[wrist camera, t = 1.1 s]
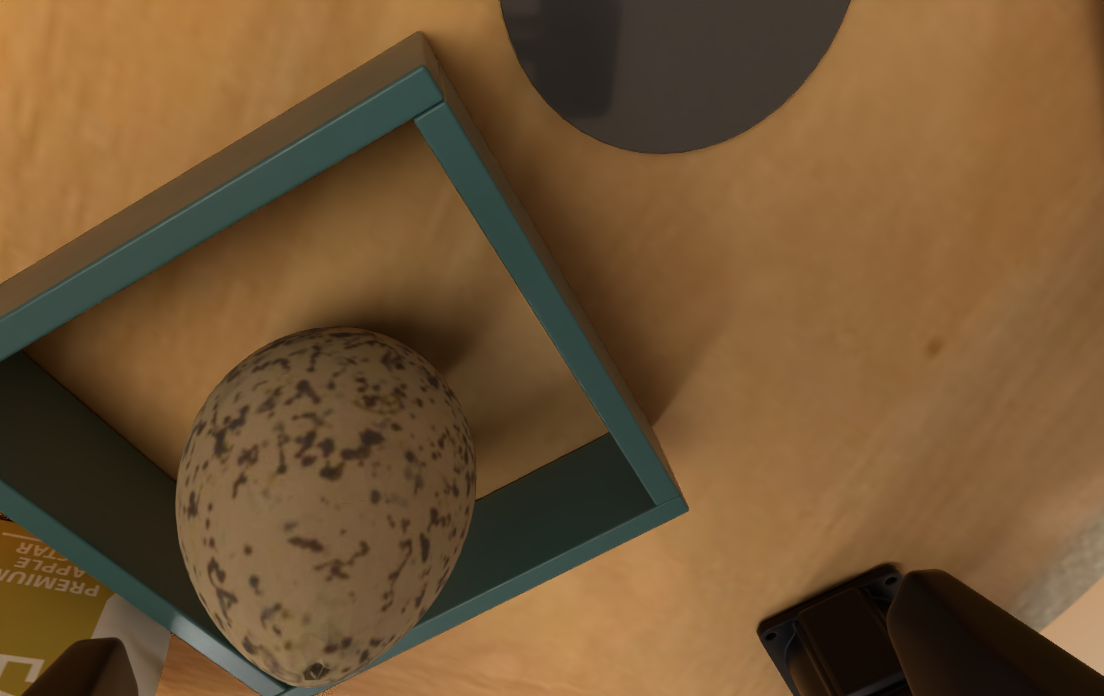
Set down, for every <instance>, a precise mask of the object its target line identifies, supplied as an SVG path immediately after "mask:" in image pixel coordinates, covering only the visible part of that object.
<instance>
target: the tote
mask: <svg viewBox="0 0 1104 696" xmlns="http://www.w3.org/2000/svg"><path fill="white" fill-rule="evenodd" d="M412 118H413V120H414V123H415V125H416V126H417V128H418V130H419V131H420V133H421V134H422V136H423V137H424V139H425V141H426V142H427V144H428V145H429V147H430V149H431V150H432V152H433V153H434V155H435V156H436V158H437V160H438V161H439V163H440V164H441V166H442V168H443V169H444V171H445V172H446V174H447V175H448V177H449V179H450V180H451V182H452V183H453V185H454V187H455V188H456V190H457V191H458V193H459V194H460V196H461V198H462V199H463V201H464V202H465V204H466V206H467V207H468V209H469V210H470V212H471V213H472V215H473V217H474V218H475V220H476V221H477V223H478V225H479V226H480V228H481V229H482V231H483V232H484V234H485V236H486V237H487V239H488V240H489V242H490V244H491V245H492V247H493V248H494V250H495V251H496V253H497V255H498V256H499V258H500V259H501V261H502V263H503V264H504V266H505V267H506V269H507V270H508V272H509V274H510V275H511V277H512V278H513V280H514V282H515V283H516V285H517V286H518V288H519V289H520V291H521V293H522V294H523V296H524V297H525V299H526V301H527V302H528V304H529V305H530V307H531V308H532V310H533V312H534V313H535V315H536V316H537V318H538V320H539V321H540V323H541V324H542V326H543V327H544V329H545V331H546V332H547V334H548V335H549V337H550V339H551V340H552V342H553V343H554V345H555V346H556V348H557V350H558V351H559V353H560V354H561V356H562V358H563V359H564V361H565V362H566V364H567V365H568V367H569V369H570V370H571V372H572V373H573V375H574V377H575V378H576V380H577V381H578V383H579V384H580V386H581V388H582V389H583V391H584V392H585V394H586V396H587V397H588V399H589V400H590V402H591V403H592V405H593V407H594V408H595V410H596V411H597V413H598V415H599V416H600V418H601V419H602V421H603V422H604V424H605V426H606V427H607V429H608V430H609V432H610V433H608V434H607V435H605V436H603V437H601V438H599V439H597V440H595V441H593V442H591V443H589V444H587V445H585V446H583V447H581V448H579V449H577V450H575V451H573V452H572V453H570V454H568V455H566V456H564V457H562V458H560V459H558V460H556V461H554V462H552V463H550V464H548V465H546V466H544V467H542V468H540V469H538V470H537V471H535V472H533V473H531V474H529V475H527V476H525V477H523V478H521V479H519V480H517V481H515V482H513V483H511V484H509V485H507V486H505V487H503V488H502V489H500V490H498V491H496V492H494V493H492V494H490V495H488V496H486V497H484V498H482V499H480V500H478V501H476V502H474V508H473V513H472V518H471V524H470V527H469V530H468V533H467V537H466V539H465V542H464V545H463V547H462V550H461V553H460V555H459V557H458V560H457V562H456V564H455V566H454V568H453V570H452V572H451V574H450V576H449V578H448V579H447V581H446V583H445V585H444V587H443V588H442V590H441V591H440V593H439V595H438V596H437V598H436V599H435V601H434V602H433V603H432V605H431V606H430V607H429V609H428V610H427V611H426V613H425V614H424V615H423V616H422V618H421V619H420V620H419V621H418V622H417V624H416V625H415V626H414V627H413V628H412V629H411V630H410V631H409V632H408V633H407V634H406V635H405V636H404V638H402V639H401V640H400V641H399V642H398V643H397V644H396V645H395V646H393V647H392V648H391V649H390V650H388V651H387V652H386V653H384V654H383V655H382V656H380V657H379V658H378V659H377V660H375V661H374V662H373V663H372V664H370V665H369V666H367V667H366V668H364V669H362V670H361V671H359V672H358V673H356V674H355V675H357V674H359V673H362V672H364V671H366V670H368V669H370V668H372V667H374V666H376V665H378V664H380V663H382V662H384V661H386V660H388V659H390V658H392V657H394V656H396V655H398V654H400V653H402V652H404V651H406V650H408V649H410V648H412V647H414V646H416V645H418V644H420V643H422V642H424V641H426V640H428V639H430V638H432V637H434V636H436V635H439V634H441V633H443V632H445V631H447V630H449V629H451V628H453V627H455V626H457V625H459V624H461V623H463V622H465V621H467V620H469V619H471V618H473V617H475V616H477V615H479V614H481V613H483V612H485V611H487V610H489V609H491V608H493V607H495V606H497V605H499V604H501V603H503V602H505V601H507V600H509V599H511V598H513V597H516V596H518V595H520V594H522V593H524V592H526V591H528V590H530V589H532V588H534V587H536V586H538V585H540V584H542V583H544V582H546V581H548V580H550V579H552V578H554V577H556V576H558V575H560V574H562V573H564V572H566V571H568V570H570V569H572V568H574V567H576V566H578V565H580V564H582V563H584V562H586V561H588V560H591V559H593V558H595V557H597V556H599V555H601V554H603V553H605V552H607V551H609V550H611V549H613V548H615V547H617V546H619V545H621V544H623V543H625V542H627V541H629V540H631V539H633V538H635V537H637V536H639V535H641V534H643V533H645V532H647V531H649V530H651V529H653V528H655V527H657V526H659V525H661V524H663V523H665V522H668V521H670V520H672V519H674V518H676V517H678V516H680V515H682V514H684V513H686V512H688V511H689V507H688V505H687V503H686V501H685V498H684V496H683V494H682V492H681V490H680V487H679V485H678V483H677V481H676V479H675V476H674V474H673V472H672V470H671V468H670V465H669V463H668V461H667V459H666V457H665V454H664V452H663V450H662V448H661V446H660V443H659V441H658V439H657V437H656V435H655V432H654V430H653V428H652V427H651V425H650V423H649V421H648V420H647V418H646V417H645V415H644V413H643V411H642V409H641V408H640V406H639V404H638V402H637V401H636V399H635V397H634V396H633V394H632V392H631V390H630V389H629V387H628V385H627V384H626V382H625V380H624V378H623V377H622V375H621V373H620V372H619V370H618V368H617V366H616V365H615V363H614V361H613V360H612V358H611V356H610V354H609V353H608V351H607V349H606V348H605V346H604V344H603V342H602V341H601V339H600V337H599V336H598V334H597V332H596V330H595V329H594V327H593V325H592V323H591V322H590V320H589V318H588V317H587V315H586V313H585V311H584V310H583V308H582V306H581V305H580V303H579V301H578V299H577V298H576V296H575V294H574V293H573V291H572V289H571V287H570V286H569V284H568V282H567V281H566V279H565V277H564V275H563V274H562V272H561V270H560V269H559V267H558V265H557V263H556V262H555V260H554V258H553V257H552V255H551V253H550V251H549V250H548V248H547V246H546V244H545V243H544V241H543V239H542V238H541V236H540V234H539V232H538V231H537V229H536V227H535V226H534V224H533V222H532V220H531V219H530V217H529V215H528V214H527V212H526V210H525V208H524V207H523V205H522V203H521V202H520V200H519V198H518V196H517V195H516V193H515V191H514V190H513V188H512V186H511V184H510V183H509V181H508V179H507V178H506V176H505V174H504V172H503V171H502V169H501V167H500V165H499V164H498V162H497V160H496V159H495V157H494V155H493V153H492V152H491V150H490V148H489V147H488V145H487V143H486V141H485V140H484V138H483V136H482V135H481V133H480V131H479V129H478V128H477V126H476V124H475V123H474V121H473V119H472V117H471V116H470V114H469V112H468V111H467V109H466V107H465V105H464V104H463V102H462V100H461V99H460V97H459V95H458V93H457V92H456V90H455V88H454V87H453V85H452V83H451V81H450V80H449V78H448V76H447V74H446V73H445V71H444V69H443V68H442V66H441V64H440V63H439V62H437V58H436V56H435V54H434V52H433V51H432V49H431V47H430V45H429V44H428V42H427V40H426V39H425V37H424V35H423V33H421V32H420V31H419V32H416V33H414V34H413V35H411V36H409V37H408V38H406V39H404V40H403V41H401V42H399V43H398V44H396V45H394V46H393V47H391V48H389V49H388V50H386V51H384V52H383V53H381V54H380V55H378V56H376V57H375V58H373V59H371V60H370V61H368V62H366V63H365V64H363V65H361V66H360V67H358V68H356V69H355V70H353V71H351V72H350V73H348V74H347V75H345V76H343V77H342V78H340V79H338V80H337V81H335V82H333V83H332V84H330V85H328V86H327V87H325V88H323V89H322V90H320V91H319V92H317V93H315V94H314V95H312V96H310V97H309V98H307V99H305V100H304V101H302V102H300V103H299V104H297V105H295V106H294V107H292V108H290V109H289V110H287V111H286V112H284V113H282V114H281V115H279V116H277V117H276V118H274V119H272V120H271V121H269V122H267V123H266V124H264V125H262V126H261V127H259V128H257V129H256V130H254V131H253V132H251V133H249V134H248V135H246V136H244V137H243V138H241V139H239V140H238V141H236V142H234V143H233V144H231V145H229V146H228V147H226V148H225V149H223V150H221V151H220V152H218V153H216V154H215V155H213V156H211V157H210V158H208V159H206V160H205V161H203V162H201V163H200V164H198V165H196V166H195V167H193V168H192V169H190V170H188V171H187V172H185V173H183V174H182V175H180V176H178V177H177V178H175V179H173V180H172V181H170V182H168V183H167V184H165V185H163V186H162V187H160V188H159V189H157V190H155V191H154V192H152V193H150V194H149V195H147V196H145V197H144V198H142V199H140V200H139V201H137V202H135V203H134V204H132V205H131V206H129V207H127V208H126V209H124V210H122V211H121V212H119V213H117V214H116V215H114V216H112V217H111V218H109V219H107V220H106V221H104V222H102V223H101V224H99V225H98V226H96V227H94V228H93V229H91V230H89V231H88V232H86V233H84V234H83V235H81V236H79V237H78V238H76V239H74V240H73V241H71V242H69V243H68V244H66V245H65V246H63V247H61V248H60V249H58V250H56V251H55V252H53V253H51V254H50V255H48V256H46V257H45V258H43V259H41V260H40V261H38V262H37V263H35V264H33V265H32V266H30V267H28V268H27V269H25V270H23V271H22V272H20V273H18V274H17V275H15V276H13V277H12V278H10V279H8V280H7V281H5V282H4V283H2V284H0V512H1V513H3V514H4V515H6V516H7V517H8V518H10V519H11V520H13V521H14V522H15V523H17V524H18V525H20V526H21V527H23V528H24V529H25V530H27V531H28V532H30V533H31V534H32V535H34V536H35V537H37V538H38V539H40V540H41V541H42V542H44V543H45V544H47V545H48V546H50V547H51V548H52V549H54V550H55V551H57V552H58V553H59V554H61V555H62V556H64V557H65V558H67V559H68V560H69V561H71V562H72V563H74V564H75V565H76V566H78V567H79V568H81V569H82V570H84V571H85V572H86V573H88V574H89V575H91V576H92V577H94V578H95V579H96V580H98V581H99V582H101V583H102V584H103V585H105V586H106V587H108V588H109V589H111V590H112V591H113V592H115V593H116V594H118V595H119V596H120V597H122V598H123V599H125V600H126V601H128V602H129V603H130V604H132V605H133V606H135V607H136V608H137V609H139V610H140V611H142V612H143V613H145V614H146V615H147V616H149V617H150V618H152V619H153V620H155V621H156V622H157V623H159V624H160V625H162V626H163V627H164V628H166V629H167V630H169V631H170V632H172V633H173V634H174V635H176V636H177V637H179V638H180V639H181V640H183V641H184V642H186V643H187V644H189V645H190V646H191V647H193V648H194V649H196V650H197V651H199V652H200V653H201V654H203V655H204V656H206V657H207V658H208V659H210V660H211V661H213V662H214V663H216V664H217V665H218V666H220V667H221V668H223V669H224V670H225V671H227V672H228V673H230V674H231V675H233V676H234V677H235V678H237V679H238V680H240V681H241V682H242V683H244V684H245V685H247V686H248V687H250V688H251V689H252V690H254V691H255V692H257V693H258V694H260V695H261V696H315V695H317V694H319V693H321V692H323V691H325V690H327V689H329V688H331V687H333V686H335V685H337V684H339V683H341V682H343V681H345V680H347V679H349V678H351V677H353V676H355V675H353V676H351V677H349V678H347V679H344V680H342V681H340V682H337V683H335V684H332V685H329V686H320V687H312V688H305V687H298V686H292V685H289V684H287V683H285V682H282V681H280V680H278V679H276V678H274V677H272V676H271V675H269V674H267V673H266V672H264V671H263V670H261V669H260V668H258V667H257V666H256V665H254V664H253V663H252V662H250V661H249V660H248V659H247V658H246V657H245V656H243V655H242V654H241V653H240V652H239V651H238V650H237V649H236V648H235V647H234V646H233V645H232V644H231V643H230V641H229V640H228V639H227V638H226V637H225V636H224V635H223V633H222V632H221V631H220V630H219V628H218V627H217V626H216V625H215V623H214V622H213V621H212V619H211V617H210V616H209V614H208V613H207V611H206V609H205V608H204V606H203V604H202V603H201V601H200V599H199V597H198V595H197V592H196V590H195V588H194V586H193V584H192V582H191V579H190V577H189V574H188V571H187V569H186V566H185V563H184V560H183V557H182V553H181V550H180V545H179V539H178V531H177V522H176V513H175V509H176V507H175V501H176V486H177V484H176V483H175V482H173V481H172V480H171V479H170V478H169V477H168V476H166V475H165V474H164V473H163V472H162V471H161V470H159V469H158V468H157V467H156V466H155V465H154V464H152V463H151V462H150V461H149V460H148V459H147V458H145V457H144V456H143V455H142V454H141V453H139V452H138V451H137V450H136V449H135V448H134V447H132V446H131V445H130V444H129V443H128V442H127V441H125V440H124V439H123V438H122V437H121V436H120V435H118V434H117V433H116V432H115V431H114V430H113V429H111V428H110V427H109V426H108V425H107V424H106V423H104V422H103V421H102V420H101V419H100V418H99V417H97V416H96V415H95V414H94V413H93V412H92V411H90V410H89V409H88V408H87V407H86V406H85V405H83V404H82V403H81V402H80V401H79V400H77V399H76V398H75V397H74V396H73V395H72V394H70V393H69V392H68V391H67V390H66V389H65V388H63V387H62V386H61V385H60V384H59V383H58V382H56V381H55V380H54V379H53V378H52V377H51V376H49V375H48V374H47V373H46V372H45V371H44V370H42V369H41V368H40V367H39V366H38V365H37V364H35V363H34V362H33V361H32V360H31V359H30V358H28V357H27V356H26V355H25V354H24V353H22V352H21V351H20V350H22V349H23V348H25V347H27V346H28V345H30V344H32V343H33V342H35V341H37V340H38V339H40V338H42V337H44V336H45V335H47V334H49V333H50V332H52V331H54V330H55V329H57V328H59V327H60V326H62V325H64V324H66V323H67V322H69V321H71V320H72V319H74V318H76V317H77V316H79V315H81V314H82V313H84V312H86V311H88V310H89V309H91V308H93V307H94V306H96V305H98V304H99V303H101V302H103V301H104V300H106V299H108V298H110V297H111V296H113V295H115V294H116V293H118V292H120V291H121V290H123V289H125V288H126V287H128V286H130V285H132V284H133V283H135V282H137V281H138V280H140V279H142V278H143V277H145V276H147V275H148V274H150V273H152V272H154V271H155V270H157V269H159V268H160V267H162V266H164V265H165V264H167V263H169V262H170V261H172V260H174V259H176V258H177V257H179V256H181V255H182V254H184V253H186V252H187V251H189V250H191V249H192V248H194V247H196V246H198V245H199V244H201V243H203V242H204V241H206V240H208V239H209V238H211V237H213V236H214V235H216V234H218V233H220V232H221V231H223V230H225V229H226V228H228V227H230V226H231V225H233V224H235V223H236V222H238V221H240V220H242V219H243V218H245V217H247V216H248V215H250V214H252V213H253V212H255V211H257V210H258V209H260V208H262V207H264V206H265V205H267V204H269V203H270V202H272V201H274V200H275V199H277V198H279V197H280V196H282V195H284V194H286V193H287V192H289V191H291V190H292V189H294V188H296V187H297V186H299V185H301V184H302V183H304V182H306V181H308V180H309V179H311V178H313V177H314V176H316V175H318V174H319V173H321V172H323V171H324V170H326V169H328V168H330V167H331V166H333V165H335V164H336V163H338V162H340V161H341V160H343V159H345V158H346V157H348V156H350V155H352V154H353V153H355V152H357V151H358V150H360V149H362V148H363V147H365V146H367V145H368V144H370V143H372V142H374V141H375V140H377V139H379V138H380V137H382V136H384V135H385V134H387V133H389V132H390V131H392V130H394V129H396V128H397V127H399V126H401V125H402V124H404V123H406V122H407V121H409V120H411V119H412Z"/></svg>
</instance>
